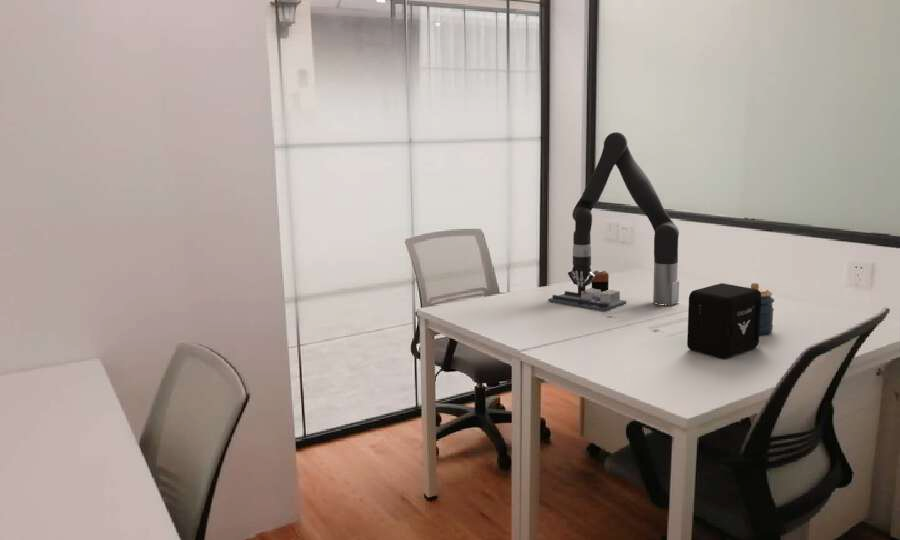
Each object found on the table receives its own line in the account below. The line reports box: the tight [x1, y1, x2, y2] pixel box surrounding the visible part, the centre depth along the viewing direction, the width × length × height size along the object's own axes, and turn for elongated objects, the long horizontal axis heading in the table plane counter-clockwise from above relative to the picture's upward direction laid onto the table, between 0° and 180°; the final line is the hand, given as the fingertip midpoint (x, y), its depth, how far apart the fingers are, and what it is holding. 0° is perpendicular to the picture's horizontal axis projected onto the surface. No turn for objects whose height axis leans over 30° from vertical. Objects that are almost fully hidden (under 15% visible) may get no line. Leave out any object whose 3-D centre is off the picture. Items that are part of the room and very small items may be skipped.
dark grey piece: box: [547, 289, 627, 313], centre depth 303 cm, size 28×16×6 cm, turn 46°
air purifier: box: [686, 282, 761, 359], centre depth 235 cm, size 20×15×20 cm
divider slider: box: [581, 287, 601, 302], centre depth 300 cm, size 5×10×4 cm, turn 136°
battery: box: [591, 270, 609, 292], centre depth 319 cm, size 4×7×10 cm, turn 88°
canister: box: [746, 282, 775, 337], centre depth 255 cm, size 13×13×18 cm
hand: (581, 294), depth 305 cm, fingers closed
